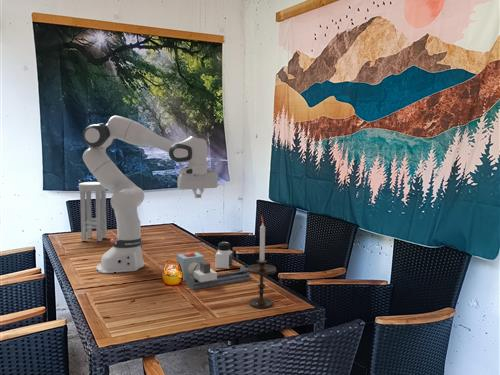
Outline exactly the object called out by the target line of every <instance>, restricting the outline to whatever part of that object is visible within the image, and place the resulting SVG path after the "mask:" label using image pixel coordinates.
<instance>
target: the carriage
mask: <svg viewBox="0 0 500 375" xmlns="http://www.w3.org/2000/svg"><path fill="white" fill-rule="evenodd" d="M217 275H218V272H216V271H215V270H214V269H212V268H211V263H210V262H208V261H205V260H204V262H200V270H197V271H193V278H195V279H196V280H197V281H199V282H205V281H211V280H217Z"/></svg>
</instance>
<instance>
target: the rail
mask: <svg viewBox="0 0 500 375" xmlns="http://www.w3.org/2000/svg"><path fill="white" fill-rule="evenodd" d="M239 269H240V270H239V271H232V272H226V273H220V274H217V280H211V281H205V282H199V281H197V280H196V279H194V278H193V277H191V276H190V275H188V274H187V275H186V280H185V285H186V286H187V287H188V288H189V289H191V290H192V291H194V290H195V291H196V290H201V289H206V288H212V287H219V286H223V285H228V284H229V285H230V284H234V283H239V282H241V283H242V282H245V281H250V280H251V275H250V274H251V273H250V272H248V267H246V266H243V265H240V268H239Z"/></svg>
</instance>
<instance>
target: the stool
mask: <svg viewBox="0 0 500 375" xmlns="http://www.w3.org/2000/svg"><path fill="white" fill-rule="evenodd" d="M78 190H79V195H80V196H79V197H80V198H79V201H80V233H81V234H80V236H81V242H82V241H86V240H87V241H88V239H87V237H92V238H93V229H94V230H96V231H95V232H96V242H97V241H103V239H102V238H106V237H107V236H108V235H107V234H108V232H107V231H108V230H107V194H106V193H107V192H106V191H108V190H107V189H105V188H104V187H103V186H102V185H101V184H100V183H99V181H87V182H85V181H84V182H81V183H78ZM92 192H94V193H95V218H93V216H92V213H93V212H92ZM107 238H108V237H107ZM107 238H106V239H107ZM87 241H86V242H87Z"/></svg>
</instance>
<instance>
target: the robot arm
mask: <svg viewBox="0 0 500 375" xmlns="http://www.w3.org/2000/svg"><path fill="white" fill-rule="evenodd" d="M116 139H117V140H119V141H122V142H125V143H127V144H130V145H133V146H136V147H152V148H156V149H158V150H161V151H163V152H166V153H168V155H169V158H170V160H172V162H175V163H179V164H181V163H187V162H188V165H186V166H184V167H181V168H179V170H178V172H179V175H178V177H177V184H176V185H177V186H176V187H177V189H178V190H182V191H183V190H192V193H193V194H194V199H202V194H203V193H204V190H205V189H217V188H218V186H219V182H218V171H217V170H216V169H215V168H214V169H213V168H212V169H209V168H208V161H207V157H208V143H207V140H206V139H205V138H204V137H203V136H202V137H201V136H197V135H191V136H189V137H188V138H186V139H183V141H174V140H172V139H169V138H166V137H164V136H162V135H159V134H157V133H156V132H154V131H152V130H151V129H149V128H148V127H146V126H145V125H144V124H141V123H139V122H138V121H135V120H133V119H130V118H127V117H124V116H120V115H113V116H111V117H110V118H109V119H108V121H107V123H106V124H105V123H97V124H96V123H94V124H90V125H88V126H86V127H85V128H84V129H83V132H82V140H83V142H84V143H85V144H86V145H87V146H88V148H87V149H86V150H84V152H83V154H82V162H84V164H85V166H86V167H87V169H88V171H89V172H90V173H91V174H92V176H93V177H94V178H95V179H96V180H97V182H99V183H100V184H101V185H102V186H103V187H104V188H105V189H107V190H106V191H109V192H110V193H111V194H112V196H111V198H110V206H111V207H112V210H113V212H114V216H115V221H116V238H115V239H114V238H111V239H110V242H111V243H112V247H111V248H110V249H108V250H107V251H106V252H105V253H103V254H102V256H101V260H100V263H98V264H97V265H96V271H97V270H98V271H97V272H98V273H100V274H113V273H114V272H116V273H124V272H125V273H126V272H135V271H138V270H139V269H141V268H143V267H144V266H145V263H144V259H143V253H142V247H143V240H142V237H141V236H142V235H141V232H142V231H141V221H140V218H139V215H138V207H139V206H141V205H142V203H143V201H144V199H145V192H144V190H143V189H142V188H141V187H139V186H137V185H136V184H135V183H134V182H133V181H132V180H131V179H130V178H128V177H127V176H126V175H125V174H124V173H123V172H122V171H121V170H120V169H119V168H118V166H117V165H116V164H115V162H114V161H112V159H111V158H110V157H109V156H108V154H107V152H108V151H109V150H110V148H111V147H112V145H113V144H114V141H115V140H116ZM197 190H199V193H197V192H198V191H197ZM114 274H115V273H114Z"/></svg>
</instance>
